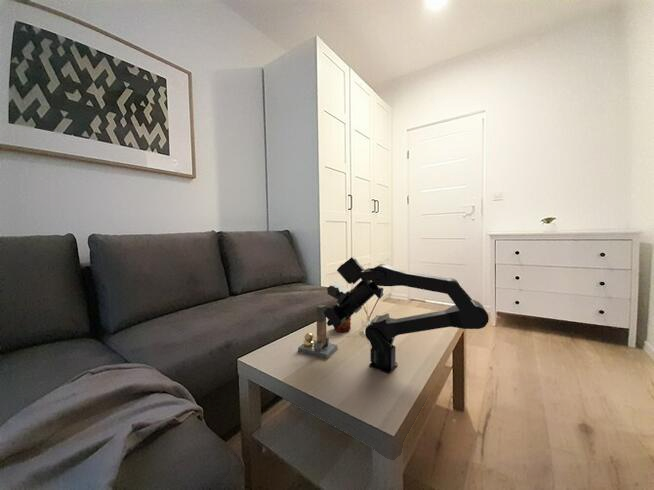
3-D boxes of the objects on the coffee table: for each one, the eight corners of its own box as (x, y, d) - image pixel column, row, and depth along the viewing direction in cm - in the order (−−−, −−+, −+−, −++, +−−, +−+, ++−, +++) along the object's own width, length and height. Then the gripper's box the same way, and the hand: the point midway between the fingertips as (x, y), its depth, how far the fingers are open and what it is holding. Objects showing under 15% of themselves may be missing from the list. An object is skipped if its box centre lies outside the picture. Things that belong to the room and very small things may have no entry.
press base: (337, 349, 86) (337, 333, 85) (327, 359, 79) (326, 342, 79) (309, 342, 91) (309, 328, 91) (298, 351, 84) (297, 336, 84)
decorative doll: (341, 334, 98) (340, 296, 97) (329, 329, 103) (328, 293, 103) (354, 329, 103) (354, 293, 102) (342, 324, 108) (342, 290, 108)
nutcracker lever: (326, 345, 85) (326, 305, 84) (322, 348, 82) (321, 307, 82) (321, 344, 86) (320, 304, 85) (316, 347, 83) (316, 306, 83)
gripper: (353, 271, 87) (325, 298, 93) (329, 280, 71) (297, 313, 77) (375, 296, 84) (345, 322, 90) (355, 311, 68) (319, 343, 73)
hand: (327, 324), depth 83 cm, fingers closed
